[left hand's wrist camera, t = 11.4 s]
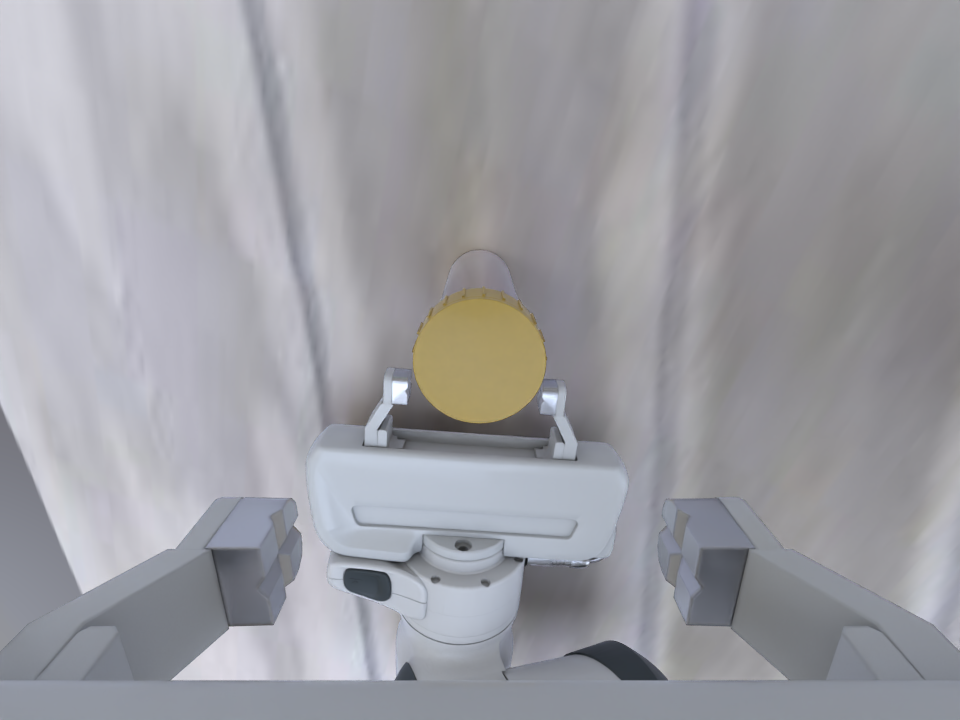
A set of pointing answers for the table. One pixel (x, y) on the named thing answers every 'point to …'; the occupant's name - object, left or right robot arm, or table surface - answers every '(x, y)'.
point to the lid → (479, 356)
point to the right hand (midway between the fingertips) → (476, 376)
